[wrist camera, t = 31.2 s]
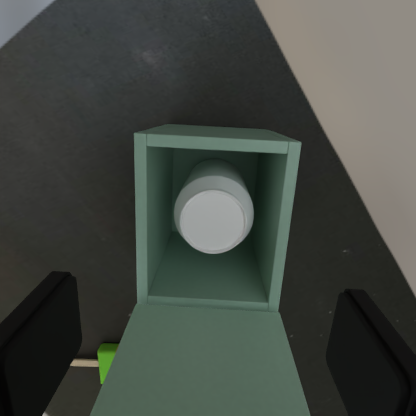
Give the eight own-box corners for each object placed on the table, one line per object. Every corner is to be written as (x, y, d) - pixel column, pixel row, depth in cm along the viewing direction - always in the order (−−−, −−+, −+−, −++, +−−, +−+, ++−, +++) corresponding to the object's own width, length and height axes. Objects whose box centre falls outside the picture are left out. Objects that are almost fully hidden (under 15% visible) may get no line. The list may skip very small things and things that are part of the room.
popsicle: (171, 376, 43) (169, 388, 41) (64, 372, 43) (57, 383, 41) (170, 343, 41) (168, 354, 39) (59, 339, 42) (51, 350, 40)
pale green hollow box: (167, 123, 33) (133, 132, 20) (267, 129, 33) (302, 142, 19) (165, 234, 37) (137, 304, 23) (255, 239, 36) (278, 312, 23)
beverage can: (179, 166, 33) (158, 194, 22) (235, 149, 32) (244, 170, 21) (196, 218, 35) (185, 270, 23) (250, 204, 34) (265, 250, 23)
